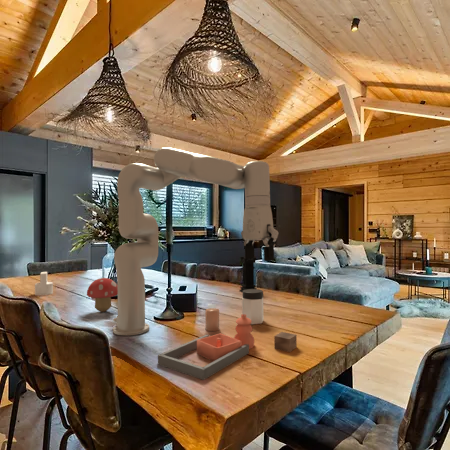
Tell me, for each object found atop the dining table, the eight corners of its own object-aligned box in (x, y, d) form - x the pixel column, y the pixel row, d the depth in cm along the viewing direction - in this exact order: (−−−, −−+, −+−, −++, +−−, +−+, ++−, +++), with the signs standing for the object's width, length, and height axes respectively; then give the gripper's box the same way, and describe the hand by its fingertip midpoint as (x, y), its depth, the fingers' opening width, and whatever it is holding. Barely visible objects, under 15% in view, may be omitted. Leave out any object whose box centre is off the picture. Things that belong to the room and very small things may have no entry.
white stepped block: (35, 293, 190) (35, 272, 190) (53, 291, 193) (53, 271, 193) (33, 296, 181) (34, 274, 181) (52, 294, 185) (52, 273, 185)
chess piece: (239, 291, 192) (239, 256, 193) (252, 290, 195) (251, 256, 195) (244, 293, 185) (244, 257, 185) (257, 292, 187) (257, 257, 187)
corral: (157, 364, 89) (157, 355, 89) (206, 342, 106) (206, 334, 106) (203, 379, 80) (203, 369, 80) (248, 353, 97) (248, 344, 97)
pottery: (217, 364, 90) (217, 327, 90) (196, 354, 97) (196, 320, 97) (262, 348, 102) (262, 316, 102) (241, 340, 109) (241, 310, 109)
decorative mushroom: (105, 306, 155) (105, 275, 155) (125, 310, 148) (125, 277, 148) (80, 313, 144) (80, 278, 144) (100, 317, 137) (100, 281, 137)
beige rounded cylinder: (202, 329, 120) (202, 310, 120) (211, 326, 124) (211, 307, 124) (213, 332, 117) (213, 312, 117) (221, 328, 121) (221, 309, 121)
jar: (268, 321, 130) (268, 290, 130) (255, 325, 124) (255, 293, 124) (250, 317, 136) (250, 288, 136) (237, 321, 130) (237, 290, 130)
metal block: (274, 349, 100) (274, 336, 101) (281, 344, 105) (281, 331, 105) (289, 352, 98) (289, 339, 98) (296, 347, 102) (296, 334, 102)
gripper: (232, 205, 106) (233, 258, 105) (265, 200, 91) (267, 262, 90) (251, 205, 109) (252, 257, 109) (286, 200, 95) (287, 260, 94)
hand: (259, 259), depth 100 cm, fingers open, 9 cm apart
